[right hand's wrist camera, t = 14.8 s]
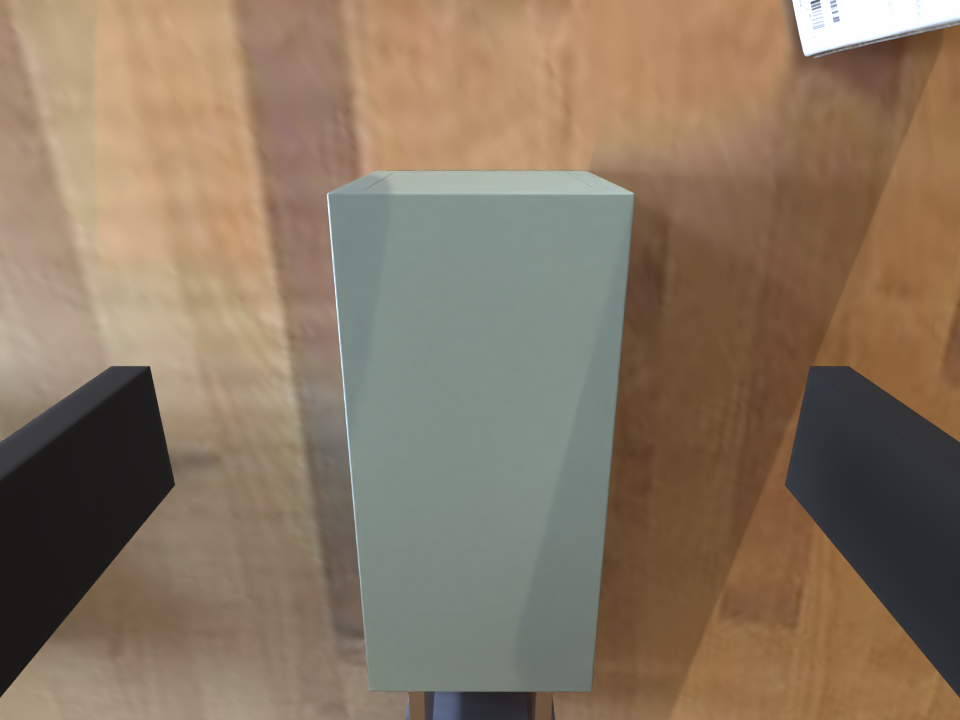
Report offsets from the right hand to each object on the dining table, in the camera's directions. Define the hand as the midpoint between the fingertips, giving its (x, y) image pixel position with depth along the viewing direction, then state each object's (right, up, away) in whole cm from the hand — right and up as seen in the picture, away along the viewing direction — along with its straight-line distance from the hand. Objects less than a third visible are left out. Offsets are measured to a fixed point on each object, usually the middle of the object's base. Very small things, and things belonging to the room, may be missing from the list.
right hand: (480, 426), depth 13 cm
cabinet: (0, 0, +21) cm, 21 cm away
